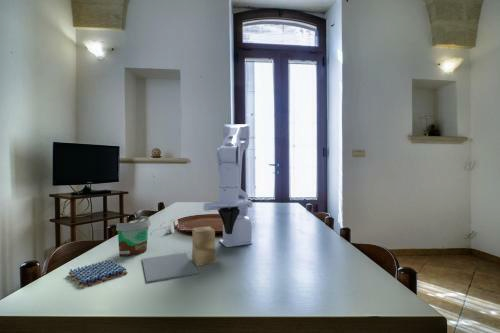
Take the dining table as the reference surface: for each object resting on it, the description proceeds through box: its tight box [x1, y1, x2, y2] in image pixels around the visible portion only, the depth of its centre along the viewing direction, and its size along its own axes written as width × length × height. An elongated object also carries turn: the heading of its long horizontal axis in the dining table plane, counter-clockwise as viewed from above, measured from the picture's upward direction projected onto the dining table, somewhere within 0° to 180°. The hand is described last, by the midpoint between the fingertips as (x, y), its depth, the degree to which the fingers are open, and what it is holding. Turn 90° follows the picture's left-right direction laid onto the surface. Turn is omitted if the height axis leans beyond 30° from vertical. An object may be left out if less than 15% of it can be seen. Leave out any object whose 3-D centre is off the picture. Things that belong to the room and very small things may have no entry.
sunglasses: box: [150, 216, 179, 235], centre depth 109 cm, size 14×8×5 cm, turn 3°
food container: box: [115, 215, 152, 258], centre depth 82 cm, size 12×6×10 cm, turn 168°
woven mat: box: [67, 259, 128, 289], centre depth 65 cm, size 10×11×2 cm
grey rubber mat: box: [141, 252, 199, 284], centre depth 70 cm, size 12×16×1 cm
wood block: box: [191, 225, 216, 267], centre depth 74 cm, size 5×5×9 cm
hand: (228, 233), depth 77 cm, fingers closed
